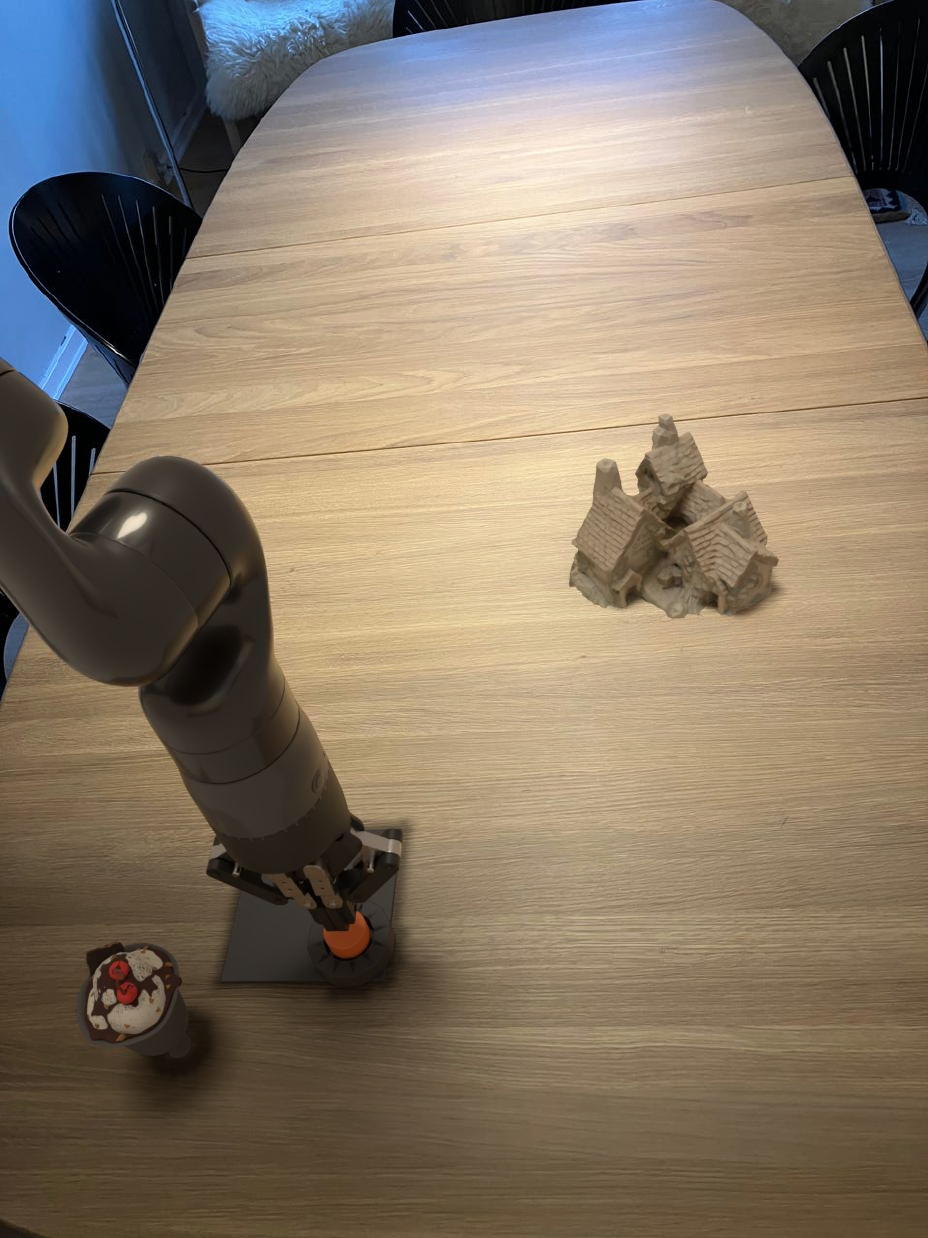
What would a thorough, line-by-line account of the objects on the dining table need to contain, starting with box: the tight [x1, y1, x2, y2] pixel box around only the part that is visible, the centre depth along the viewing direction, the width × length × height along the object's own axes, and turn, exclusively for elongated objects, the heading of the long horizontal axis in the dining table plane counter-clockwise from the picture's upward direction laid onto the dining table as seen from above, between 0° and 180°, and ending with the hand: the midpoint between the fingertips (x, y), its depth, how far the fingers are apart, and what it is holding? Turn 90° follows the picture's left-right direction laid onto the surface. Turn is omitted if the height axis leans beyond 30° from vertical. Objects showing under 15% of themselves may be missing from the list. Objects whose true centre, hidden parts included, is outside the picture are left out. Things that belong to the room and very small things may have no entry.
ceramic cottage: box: [568, 413, 780, 620], centre depth 89 cm, size 16×16×15 cm
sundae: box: [75, 940, 192, 1059], centre depth 66 cm, size 7×7×15 cm
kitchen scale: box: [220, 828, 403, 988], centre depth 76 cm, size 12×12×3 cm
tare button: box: [323, 911, 370, 959], centre depth 72 cm, size 3×3×2 cm
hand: (340, 918), depth 70 cm, fingers closed
